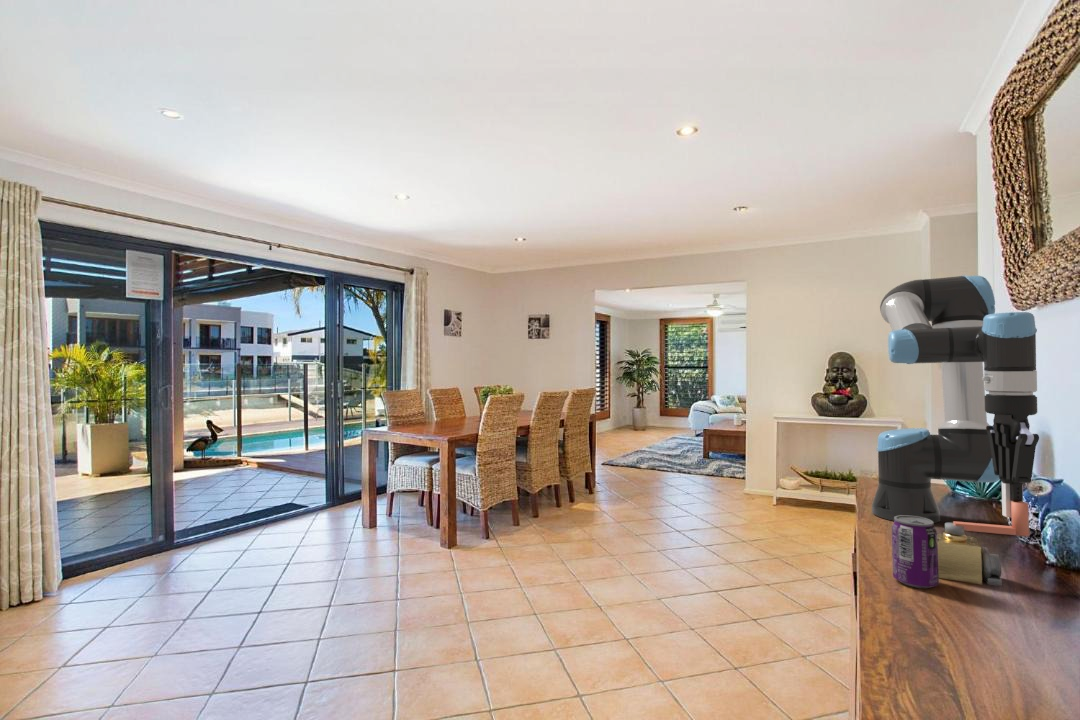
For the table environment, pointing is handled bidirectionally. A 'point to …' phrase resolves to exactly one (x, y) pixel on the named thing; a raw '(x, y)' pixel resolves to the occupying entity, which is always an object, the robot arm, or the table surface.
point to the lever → (1018, 525)
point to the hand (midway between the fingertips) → (1012, 516)
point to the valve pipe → (966, 560)
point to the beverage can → (915, 551)
